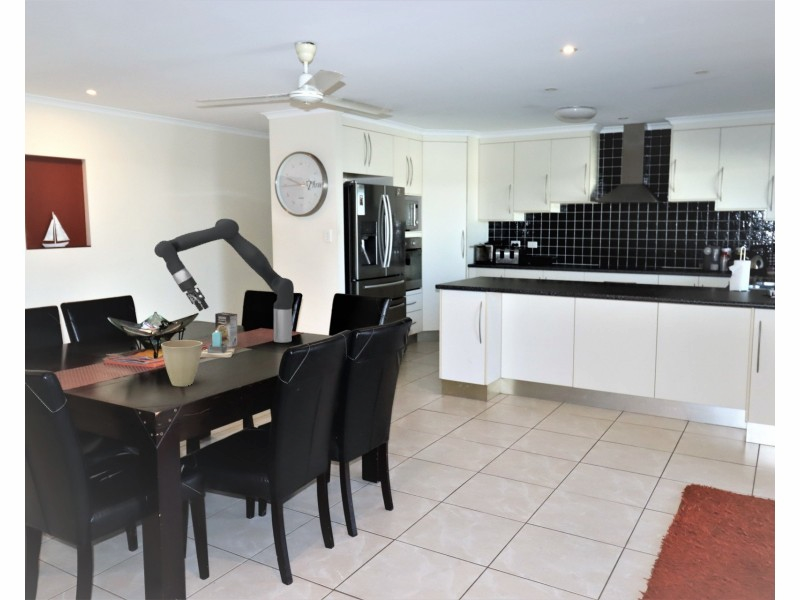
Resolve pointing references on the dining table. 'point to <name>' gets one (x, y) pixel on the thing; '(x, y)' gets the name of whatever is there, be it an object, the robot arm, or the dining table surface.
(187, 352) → the plant pot
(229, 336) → the coffee box
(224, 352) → the board
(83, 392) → the dining table surface
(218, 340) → the teal block
